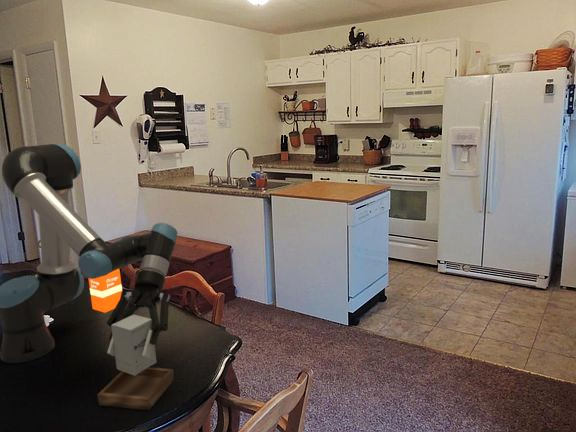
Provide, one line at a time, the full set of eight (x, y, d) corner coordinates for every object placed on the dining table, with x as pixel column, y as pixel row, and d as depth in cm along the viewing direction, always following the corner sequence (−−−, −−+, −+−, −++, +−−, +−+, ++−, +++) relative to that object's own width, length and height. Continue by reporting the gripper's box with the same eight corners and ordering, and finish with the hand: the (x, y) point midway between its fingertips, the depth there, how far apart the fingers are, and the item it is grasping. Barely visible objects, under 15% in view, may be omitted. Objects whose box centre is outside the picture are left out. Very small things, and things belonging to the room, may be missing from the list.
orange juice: (124, 304, 181) (118, 256, 176) (104, 312, 173) (98, 262, 169) (111, 301, 185) (105, 253, 181) (92, 308, 177) (85, 259, 173)
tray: (98, 405, 116) (97, 394, 116) (128, 375, 130) (127, 365, 129) (149, 410, 113) (147, 399, 113) (174, 379, 127) (173, 369, 126)
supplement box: (135, 376, 115) (129, 330, 112) (116, 369, 119) (109, 324, 116) (157, 363, 121) (152, 318, 118) (138, 356, 125) (133, 313, 122)
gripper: (193, 281, 128) (173, 362, 117) (123, 279, 133) (97, 357, 121) (183, 269, 122) (161, 354, 110) (110, 267, 127) (82, 348, 115)
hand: (128, 355), depth 116 cm, fingers closed on supplement box, 9 cm apart
